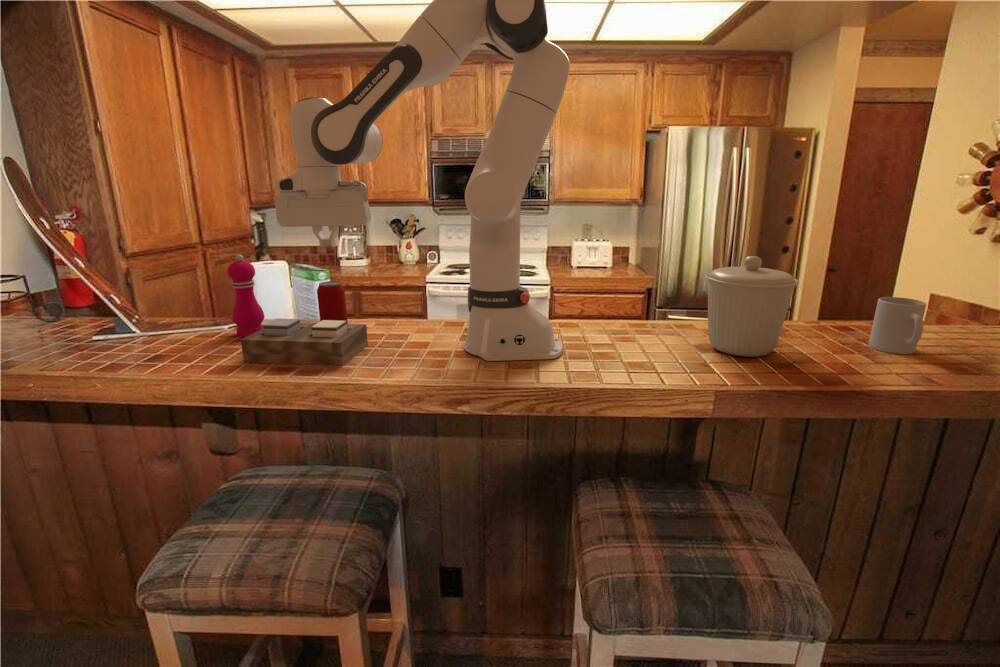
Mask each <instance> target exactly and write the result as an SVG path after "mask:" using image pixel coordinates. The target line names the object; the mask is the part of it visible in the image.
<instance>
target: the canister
mask: <svg viewBox="0 0 1000 667" xmlns="http://www.w3.org/2000/svg"><path fill="white" fill-rule="evenodd" d="M762 263H763V261H762V259H761V257H759V256H757V255H749V256H747V257H745V258H744V260H743V266H725V267H717V268H715V269H713V270H712V271H711V272H708V273H705V276H704V278H705V279H706V280H707V326H708V329H707V330H708V339H709V342H710V345H711V346H712V347H713V348H714V349H716V350H717V351H719V352H722V353H723V354H727V355H731V356H735V357H737V356H738V357H744V358H745V357H748V358H750V357H751V358H755V357H756V358H757V357H764V356H766V355H769V354H770V353H772V352H773V351H774V350H775V348H776V347H777V344H778V342H779V339H780V336H781V333H782V330H783V327H784V324H785V321H786V320H785V319H786V318H787V314H788V310H789V307H790V304H791V301H792V296H793V292H794V289H795V287H796V286H798V285H799V283H800V281H799V280H798V279H797V278H795V277H794V276H793V275H791V273H788V272H785V271H782V270H777V269H771V268H767V267H761V266H762V265H763V264H762Z"/></svg>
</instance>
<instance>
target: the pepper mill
mask: <svg viewBox="0 0 1000 667" xmlns="http://www.w3.org/2000/svg"><path fill="white" fill-rule="evenodd" d="M234 259H235V261H233V262H231V263H230V264H229V265H228V267H227V275H228V277H229V278H230V279H231V280H232V281H231V284H232V286H231V287H232V288H233V289H234V291H235V303H234V307H233V309H232V316H231V317H232V322H233V323H234V324H235V325H237V327H236V335H237V336H238V337H240V338H245V337H247V336H249V335H251V334H253V333H255V332H257V331H259V330H261V329H263V325H264V324H262V323H263V322H264V319H265V313H264V310H263V308H262V306H261V305H260V304H259V302H258V300H257V299H256V296H255V292H254V287H255V286H256V284H255V280H254V279H253V278H254V277H255V275H256V269H255V267H254V265H253V264H252V263H251V262H249V261H246V260H244V256H243V255H242V254H237V255H235V258H234Z"/></svg>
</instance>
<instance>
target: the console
mask: <svg viewBox="0 0 1000 667" xmlns="http://www.w3.org/2000/svg"><path fill="white" fill-rule="evenodd" d="M317 323H318V322H300V329H301V330H299V331H298V332H296V333H294V334H292V335H291V336H272V335H265V334H264V329H261V330H259V331H257V332H255V333H253V334H251V335H249V336H247V337H242V338H241V339H240V344H241V345H240V346H241V350H242V351H241V352H242V358H243V363H256V362H268V363H267V364H283V363H285V365H289V364H290V365H309V366H310V365H312V366H313V365H315V366H337V367H338V366H339V367H340V366H342V367H343V366H344V365H346V364H347V363H348V362H349V361H350V360H352V359H354V358H355V357H356V356H357V355H358V354H359V353H360V352H361V351H363V350H364V349H365V348H366V347H368V346H369V344H368V330H367V324H359V323H355V324H354V323H348V324H347V332H346V333H345V334H343V335H342V336H340V337H339V338H337V337H313V334H312V329H311V328H312V326H314V325H315V324H317ZM363 348H364V349H363ZM362 349H363V350H362Z"/></svg>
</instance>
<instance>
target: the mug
mask: <svg viewBox="0 0 1000 667" xmlns="http://www.w3.org/2000/svg"><path fill="white" fill-rule="evenodd" d="M926 307H927V303H926V302H925V301H922V300H918V299H914V298H908V297H899V296H898V297H897V296H883V297H879V298H878V299H877V303H876V307H875V313H874V317H873V323H872V326H871V331H870V335H869V339H868V346H869V347H870V349H874V350H876V351H879V352H883V353H888V354H896V355H912V354H914V353H916V350H917V347H918V346H917V345H918V343H919V342H920V340H921V338H922V336H923V331H924V316H925V312H926V309H927V308H926Z"/></svg>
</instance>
